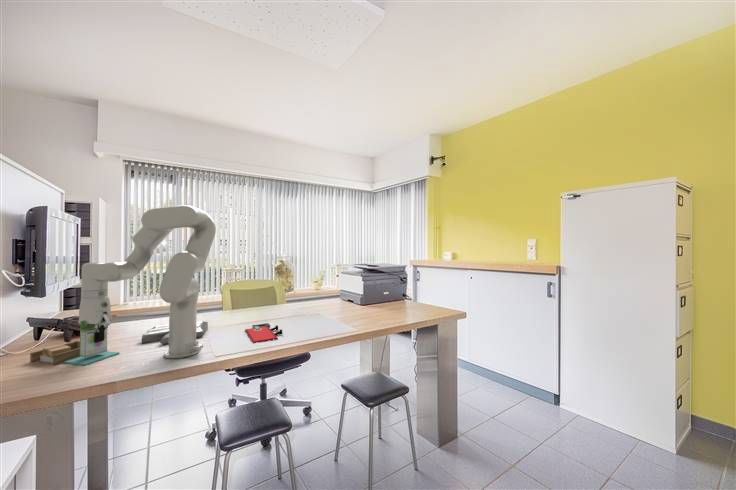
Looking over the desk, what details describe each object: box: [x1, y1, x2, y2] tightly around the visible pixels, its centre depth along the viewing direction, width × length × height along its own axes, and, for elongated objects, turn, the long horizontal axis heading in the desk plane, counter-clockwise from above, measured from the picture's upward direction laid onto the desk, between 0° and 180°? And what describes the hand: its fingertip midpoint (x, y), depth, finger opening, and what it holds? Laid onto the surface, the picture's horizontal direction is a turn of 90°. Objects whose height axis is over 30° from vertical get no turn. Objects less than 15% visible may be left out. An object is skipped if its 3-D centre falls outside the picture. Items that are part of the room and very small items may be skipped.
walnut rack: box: [29, 340, 81, 366], centre depth 114 cm, size 12×15×4 cm
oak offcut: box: [42, 343, 71, 358], centre depth 111 cm, size 8×5×2 cm
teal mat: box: [63, 350, 120, 367], centre depth 112 cm, size 10×12×1 cm
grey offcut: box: [40, 355, 53, 364], centre depth 111 cm, size 8×6×2 cm
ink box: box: [79, 321, 108, 357], centre depth 112 cm, size 7×4×13 cm, turn 161°
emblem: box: [141, 320, 209, 345], centre depth 142 cm, size 28×5×28 cm
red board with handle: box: [244, 322, 283, 344], centre depth 149 cm, size 30×3×15 cm
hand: (93, 340), depth 112 cm, fingers closed on ink box, 4 cm apart
